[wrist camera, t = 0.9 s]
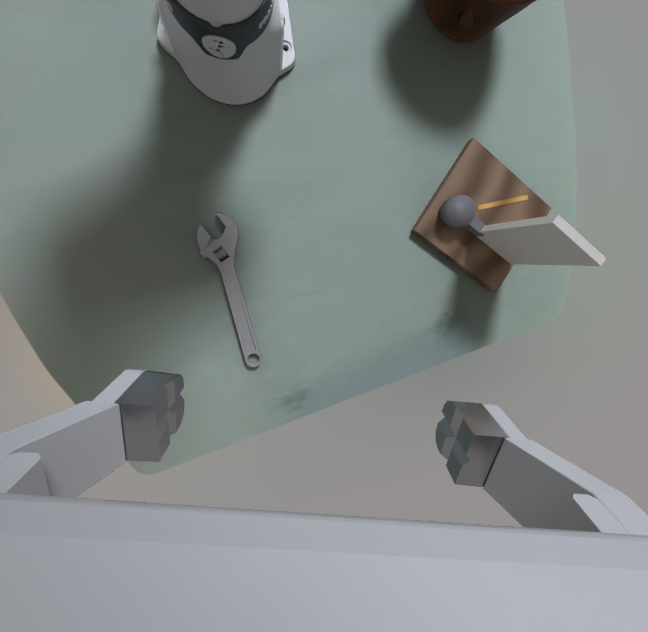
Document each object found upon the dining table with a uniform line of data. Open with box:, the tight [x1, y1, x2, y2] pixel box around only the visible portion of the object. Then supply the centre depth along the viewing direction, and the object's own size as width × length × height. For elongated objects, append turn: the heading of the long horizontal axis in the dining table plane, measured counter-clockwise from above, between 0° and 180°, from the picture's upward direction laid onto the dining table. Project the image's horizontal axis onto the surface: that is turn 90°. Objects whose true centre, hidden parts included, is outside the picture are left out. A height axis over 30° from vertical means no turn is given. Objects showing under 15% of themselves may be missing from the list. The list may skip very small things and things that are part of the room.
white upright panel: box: [440, 195, 606, 266], centre depth 48 cm, size 18×5×16 cm, turn 57°
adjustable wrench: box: [197, 213, 261, 367], centre depth 51 cm, size 25×6×2 cm, turn 8°
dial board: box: [411, 138, 551, 292], centre depth 57 cm, size 20×18×2 cm
